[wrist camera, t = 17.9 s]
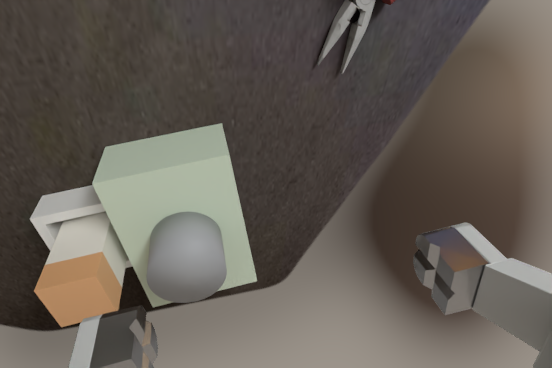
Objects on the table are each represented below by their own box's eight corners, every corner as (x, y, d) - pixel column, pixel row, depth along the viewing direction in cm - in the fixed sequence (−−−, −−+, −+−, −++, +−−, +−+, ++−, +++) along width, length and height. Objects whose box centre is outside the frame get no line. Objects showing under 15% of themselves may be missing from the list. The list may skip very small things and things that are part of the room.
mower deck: (91, 278, 46) (68, 369, 36) (22, 163, 36) (-35, 244, 27) (247, 241, 48) (265, 316, 39) (221, 123, 39) (236, 184, 29)
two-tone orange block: (88, 239, 43) (61, 327, 33) (69, 205, 40) (33, 291, 30) (131, 229, 43) (117, 313, 34) (116, 195, 41) (96, 276, 31)
